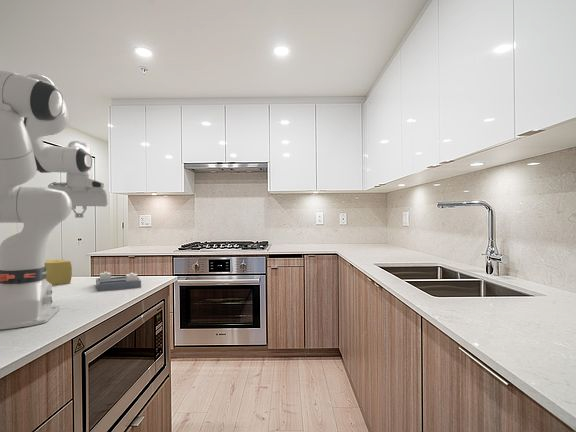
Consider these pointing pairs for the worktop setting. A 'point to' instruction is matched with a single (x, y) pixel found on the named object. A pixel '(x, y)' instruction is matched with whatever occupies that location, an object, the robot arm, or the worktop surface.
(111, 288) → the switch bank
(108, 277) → the tab far
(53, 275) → the cheese
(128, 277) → the tab near
